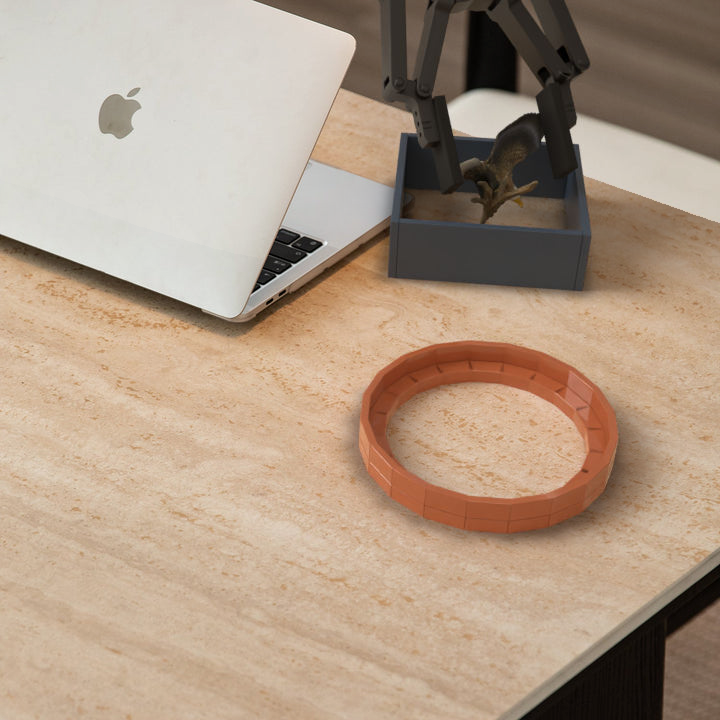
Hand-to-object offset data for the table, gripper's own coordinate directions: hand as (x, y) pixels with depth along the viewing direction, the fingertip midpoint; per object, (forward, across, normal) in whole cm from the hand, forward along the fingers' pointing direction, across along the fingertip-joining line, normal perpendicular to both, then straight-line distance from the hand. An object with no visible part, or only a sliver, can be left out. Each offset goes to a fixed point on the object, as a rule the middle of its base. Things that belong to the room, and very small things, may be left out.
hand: (510, 180), depth 90 cm
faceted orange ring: (+19, +10, +9) cm, 23 cm away
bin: (+3, 0, -7) cm, 8 cm away
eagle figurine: (0, -1, -5) cm, 5 cm away
